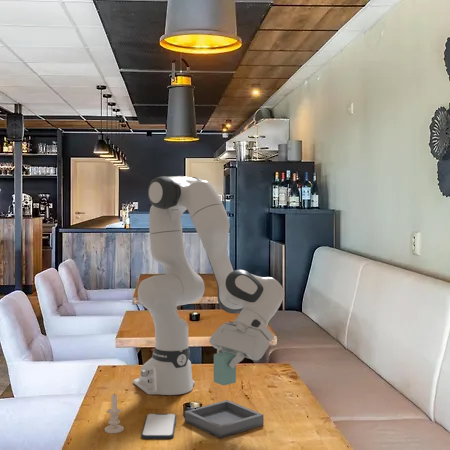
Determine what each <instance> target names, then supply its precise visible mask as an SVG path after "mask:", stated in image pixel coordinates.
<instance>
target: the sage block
mask: <svg viewBox="0 0 450 450" xmlns="http://www.w3.org/2000/svg"><path fill="white" fill-rule="evenodd" d="M235 356H237V355H236V354H232V353H229V352H222V353H217V352H216V353H213V383H216V384H219V385H221V386H227V385H231V384H236V383H237V368H236V367H237V365H236V366H235V367H234V368H230V367H229V366H228V365H227V363H228V362H229V360H230V359H231V360H232V359H233V358H234V357H235Z"/></svg>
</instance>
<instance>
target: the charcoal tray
mask: <svg viewBox="0 0 450 450" xmlns="http://www.w3.org/2000/svg"><path fill="white" fill-rule="evenodd" d="M195 408H196V409H195ZM195 408H192V409H189V410H184V422H185V423H187V424H189V425H191V426H193V427H194V428H197V429H199V430H201V431H204V432H205V433H207V434H209V435H211V436H213V437H215V438H217V439H219V440H220V439H221V440H222V439H224V438H227V437H231V436H233V435H236V434H240V433H243V432H246V431H249V430H252V429H256V428H260V427H262V426H264V418H265V416H264V414H263V413H261V412H258V411H255V410H253V409H251V408H248V407H246V406H243V405H241V404H238V403H236V402H234V401H231V400H229V399H225V400H223V401H219V402H215V403H211V404H208V405H203V406H200V407H199V406H198V407H195Z"/></svg>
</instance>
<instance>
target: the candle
mask: <svg viewBox="0 0 450 450" xmlns="http://www.w3.org/2000/svg"><path fill="white" fill-rule="evenodd" d="M110 399H111V405H110V409H107V411H106V413H108V414H110V415H109V419H110V420H108V421H107V423H108V424H109V425H107V426H105V427H104V432H105V433H107V434H119V433H122V432H123V431H125V430H124V428H125V427H124V426H123V425H121V420H120V419H119V413H121V412H122V409H121V408H118V395H117V394H116V393H113V394H111V398H110Z"/></svg>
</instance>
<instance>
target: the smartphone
mask: <svg viewBox="0 0 450 450" xmlns="http://www.w3.org/2000/svg"><path fill="white" fill-rule="evenodd" d="M176 425H177V415H176V413H148V414H146V416H145V420H144V424H143V427H142V432H141V435H140V438H141V439H143V440H171V439H174V436H175V431H176Z"/></svg>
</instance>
